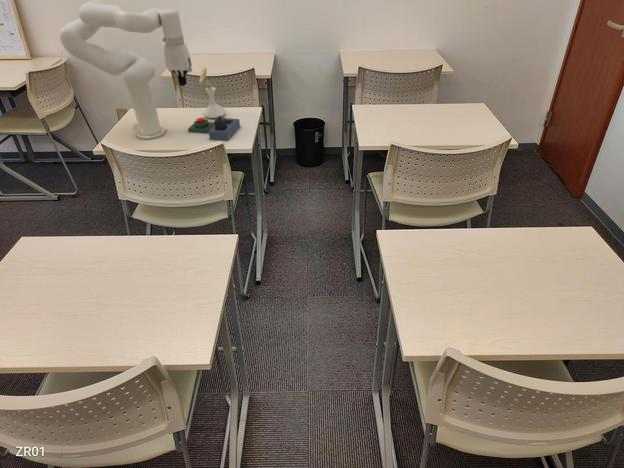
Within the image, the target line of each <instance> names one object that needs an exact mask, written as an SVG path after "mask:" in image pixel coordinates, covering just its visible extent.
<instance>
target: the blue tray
mask: <svg viewBox="0 0 624 468" xmlns="http://www.w3.org/2000/svg"><path fill="white" fill-rule="evenodd" d="M225 118H226V124H227V128H226V129H225V130H216V129H215V125H214V126H213V127H212V128H211V129H210V130H209V133H208V136H209V137H208V138H209V140H210V141H211V140H212V141H213V140H214V141H226V142H227V141H229V140H230V139H231V138H232V137H233V136H234V134H235V133H236V132H237V131H238V130H239V129H240V128H241V123H240V118H231V117H230V118H229V117H225Z"/></svg>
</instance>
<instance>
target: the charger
mask: <svg viewBox="0 0 624 468" xmlns="http://www.w3.org/2000/svg"><path fill="white" fill-rule="evenodd" d="M226 118H227V117H222V116H218V118H215V119H214V121H213V122H214V123H215V129H216V130H225V129H226V128H227V124H226Z"/></svg>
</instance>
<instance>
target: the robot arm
mask: <svg viewBox="0 0 624 468" xmlns="http://www.w3.org/2000/svg"><path fill="white" fill-rule="evenodd" d="M78 16H79V17H78V18H77V19H75V20H73V21H71V22H68V23H65V24H64V25H63V26H62V27H61V29H60V31H59V40H60V43H61V45H62V46H63V48H64V49H65V50H66V51H67V52H68V54H70V55H71V56H73V57H74V58H76V59H78V60H80V61H82V62H85V63H86V64H89V65H91V66H93V67H95V68H96V69H99V70H100V71H102V72H104V73H106V74H109V75H110V76H115V77H117V76H120V75H121V74H123V80H124V84H125V86H126V89H127V91H128V93H129V97H130V100H131V102H132V106H133V110H134V115H135V118H136V121H137V123H133V124H132V130H133V131H134V130H135V131H136V130H137V133H136V135H137V137H138V138H139V139H143V140H151V139H156V138H160V137H162V136H163V135H164V134H165V133H166V129H165V128H164V127H163V126H161V124H160V123H161V122H160V119H159V115H158V111H157V107H156V102H155V98H154V94H153V91H152V90H151V87H150V85H149V83H150V82H151V81H152V80H153V78H154V77H155V75H156V69H155V66H154V64H152V62H150V61H149V60H148V59H146V58H144V57H142V56H140V55H138V54H136V53H135V52H133V51H130V50H129V49H126V48H123V47H116V48H113V49H112V50H107V49H105V48H103V47H101V46H99V45H97V44H95V43H90V42H87V41H88V40H89V39H91V38H92V37H93V36H95V35H96V34H97V32H98V31H99V30H100V29H101V28H114V29H120V30H123V31H126V32H129V33H140V34H150V33H153V32H154V31H156V30H157V29H159V28H162V32H163V38H161V39H162V42H164V47H163V51H164V61H165V62H164V63H165V67H166V69H167V70H168V71H169V72H171V73H173V74H174V75H175V77H177V80H178V83H179V86H180V87H184V86H186V85H187V77H186V75H187V74H188V73H191V72H193V68H192V65H193V64H192V59H191V55H190V52H189V49H188V46H187V44H186V43H185V40H184V34H183V30H182V24H181V19H180V13H179V11H178V9H176V8H172V7H170V8H159V7H151V8H148V9H146V10H144V11H143V12H130V11H126V10H123V9H122V7H121V6H120V5H117V4H106V3H105V2H104V1H102V0H91V1H88V2H86V3H83V4H82V5H81V6H80V7H79V9H78Z"/></svg>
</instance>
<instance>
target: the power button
mask: <svg viewBox="0 0 624 468" xmlns="http://www.w3.org/2000/svg"><path fill="white" fill-rule="evenodd" d="M205 119H206V118H205V117H198V118H197V119H196V120H197V123H198V124H201V123H205Z"/></svg>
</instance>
